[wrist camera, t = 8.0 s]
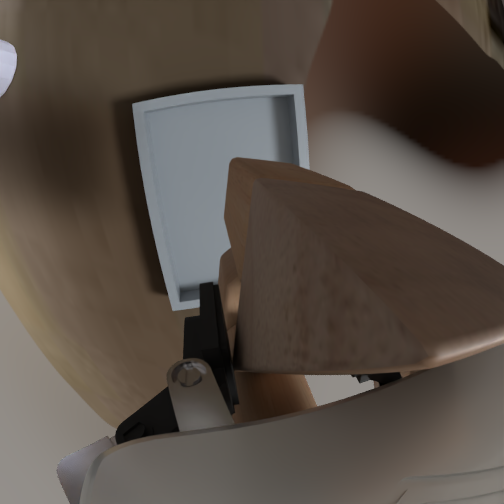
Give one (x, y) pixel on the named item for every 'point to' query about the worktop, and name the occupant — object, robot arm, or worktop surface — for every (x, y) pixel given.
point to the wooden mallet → (341, 287)
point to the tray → (208, 169)
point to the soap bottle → (6, 65)
